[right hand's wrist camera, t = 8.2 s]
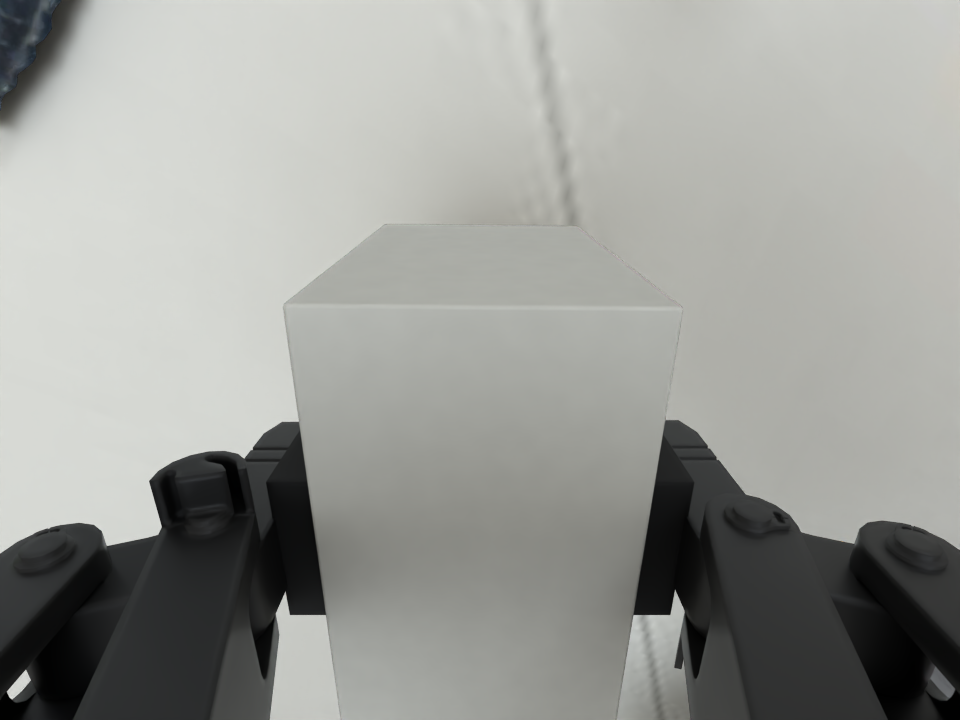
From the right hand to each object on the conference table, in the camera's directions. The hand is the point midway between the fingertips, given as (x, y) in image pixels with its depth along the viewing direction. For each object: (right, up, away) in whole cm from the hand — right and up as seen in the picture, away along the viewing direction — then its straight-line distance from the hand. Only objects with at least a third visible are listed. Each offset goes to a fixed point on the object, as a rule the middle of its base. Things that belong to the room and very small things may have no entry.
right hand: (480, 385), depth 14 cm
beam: (0, -23, +10) cm, 25 cm away
